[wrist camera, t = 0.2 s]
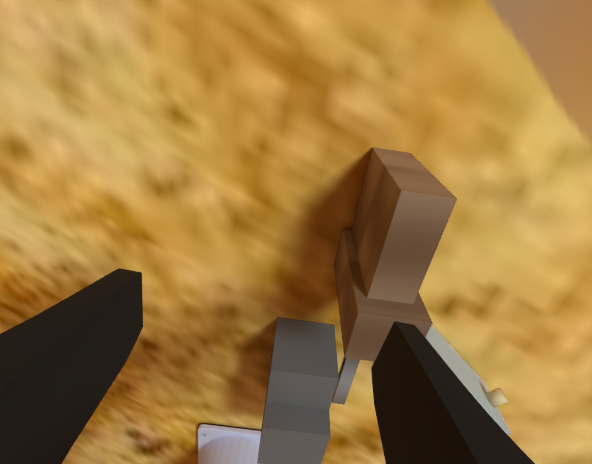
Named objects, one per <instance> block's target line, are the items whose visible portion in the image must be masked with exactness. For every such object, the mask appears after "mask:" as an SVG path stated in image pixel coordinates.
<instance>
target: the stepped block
mask: <svg viewBox="0 0 592 464" xmlns="http://www.w3.org/2000/svg"><path fill="white" fill-rule="evenodd" d="M338 380H339V376H338V364H337V353H336V341H335V330H334V325H332V324H324V323H317V322H309V321H302V320H294V319H287V318H279V317H278V318H277V325H276V331H275V338H274V344H273V351H272V357H271V364H270V370H269V377H268V384H267V392H266V399H265V407H264V414H263V422H262V430H261V437H260V445H259V452H258V460H257V463H258V464H321V462H322V459H323V456H324V453H325V450H326V447H327V445H328V442H329V439H330V418H329V408H330V405H331V402H332V399H333V396H334V392H335V389H336V386H337V383H338Z"/></svg>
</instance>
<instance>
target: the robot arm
mask: <svg viewBox="0 0 592 464" xmlns="http://www.w3.org/2000/svg"><path fill="white" fill-rule="evenodd" d="M142 328H143V308H142V273H141V272H135V271H130V270H125V269H120V268H119V269H117V270H115V271H113V272H112V273H110V274H108V275H106V276H105V277H103V278H101V279H99V280H98V281H96V282H94V283H92V284H91V285H89V286H87V287H86V288H84V289H82V290H80V291H79V292H77V293H75V294H73V295H72V296H70V297H68V298H66V299H65V300H63V301H61V302H59V303H58V304H56V305H54V306H52V307H50V308H49V309H47V310H45V311H43V312H42V313H40V314H38V315H36V316H34V317H32V318H30V319H28V320H27V321H25V322H23V323H21V324H19V325H17V326H15V327H13V328H11V329H9V330H7V331H5V332H3V333H1V334H0V464H62V462H63V460H64V459H65V457H66V455H67V454H68V452H69V450H70V449H71V447H72V445H73V444H74V442H75V441H76V439H77V438H78V436H79V434H80V433H81V431H82V430H83V428H84V427H85V425H86V424H87V422H88V420H89V419H90V417H91V416H92V414H93V413H94V411H95V410H96V408H97V406H98V405H99V403H100V402H101V400H102V399H103V397H104V396H105V394H106V392H107V391H108V389H109V388H110V386H111V385H112V383H113V381H114V380H115V378H116V377H117V375H118V373H119V372H120V370H121V369H122V367H123V366H124V364H125V362H126V361H127V359H128V357H129V355H130V353H131V351H132V349H133V347H134V345H135V342H136V340H137V338H138V336H139V334H140V332H141V330H142ZM372 384H373V395H374V405H375V410H376V416H377V421H378V426H379V431H380V436H381V441H382V446H383V451H384V456H385V461H386V464H535V463H534V462H533V461H532V460H531V459H530V458H529V457H528V456H527V455H526V454H525V453H524V452H523V451H522V450H521V449H520V448H519V447H518V446H517V445H516V444H515V443H514V442H513V440H512V439H511V438H510V437H509V436H508V435H507V434H506V433H505V432H504V431H503V429H502V428H501V427H500V426H499V425H498V424H497V423H496V422H495V421H494V419H493V418H492V417H491V416H490V415H489V414H488V413H487V412H486V410H485V409H484V408H483V407H482V406H481V405H480V403H479V402H478V401H477V400H476V399H475V398H474V396H473V395H472V394H471V393H470V392H469V391H468V389H467V388H466V387H465V386H464V384H463V383H462V382H461V381H460V380H459V378H458V377H457V376H456V375H455V374H454V372H453V371H452V370H451V369H450V367H449V366H448V365H447V364H446V362H445V361H444V360H443V359H442V357H441V356H440V355H439V354H438V353H437V351H436V350H435V349H434V348H433V346H432V345H431V344H430V343H429V341H428V340H427V339H426V338H425V336H424V335H423V334H422V333H421V332H420V330H419V329H418V328H417V327H416V326H415V325H412V324H407V323H402V322H397V321H394V323H393V325H392V327H391V329H390V331H389V333H388V335H387V337H386V339H385V341H384V343H383V345H382V347H381V349H380V351H379V353H378V355H377V358H376V360H375V362H374V364H373V366H372ZM260 437H261V431H257V430H248V429H240V428H232V427H224V426H215V425H207V424H201V425H200V426H199V428H198V464H258V463H257V460H258V452H259V445H260Z"/></svg>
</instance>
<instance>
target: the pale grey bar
mask: <svg viewBox="0 0 592 464" xmlns="http://www.w3.org/2000/svg"><path fill="white" fill-rule="evenodd" d="M426 339H427V340H428V341H429V343H430V344H431V345H432V346H433V348H434V349H435V350H436V351H437V353H438V354H439V355H440V356H441V357H442V359H443V360H444V361H445V362H446V364H447V365H448V366H449V367H450V369H451V370H452V371H453V372H454V374H455V375H456V376H457V377H458V378H459V380H460V381H461V382H462V383H463V384H464V386H465V387H466V388H467V389H468V391H469V392H470V393H471V394H472V395H473V396H474V398H475V399H476V400H477V401H478V402H479V403H480V405H481V406H482V407H483V408H484V409H485V410H486V412H487V413H488V414H489V415H490V416H491V417H492V418H493V419H494V421H495V422H496V423H497V424H498V425H499V426H500V427H501V428H502V429H503V431H504V432H505V433H506V434H507V435H508V434H511V432H510V430H509V428H508V426H507V424H506V422H505V421H504V419H503V417H502V415H501V413H500V411H499V409H498V407H497V406H499V405H501V404H504V403H506V402H508V399H507V398H506V396H505V394H504V393H503V391H502V390H501V389H500V388H497V389H495V390H492V391H490V392H489V390H488V389H487V387H486V385H485V383H484V381H483V380H482V379H481V378H480V377H479V376H478V375H477V374H476V373H475V372H474V370H473V369H472V368H471V367H470V366H469V365H468V364H467V363H466V362H465V361H464V360H463V359H462V358H461V356H460V355H459V354H458V353H457V352H456V351H455V350H454V349H453V348H452V347H451V346H450V345H449V344H448V342H447V341H446V340H445V339H444V338H443V337H442V336H441V335H440V334H439V333H438V332H437V331H436V330H435V328H434V327H433V326H432V325H431V327H430V329H429V331H428V333H427V335H426Z"/></svg>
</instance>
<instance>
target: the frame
mask: <svg viewBox="0 0 592 464" xmlns="http://www.w3.org/2000/svg"><path fill="white" fill-rule="evenodd" d="M456 200H457V198H456V197H455V196H454V195H453V194H452V193H451V192H450V191H449V190H447V189H446V188H445V187H444V186H443V185H442V184H441V183H440V182H439V181H438V180H437V179H436V178H435V177H434V176H433V175H432V174H431V173H430V172H429V171H428V170H427V169H426V168H425V167H424V166H423V165H422V164H421V163H420V162H419V161H418V160H417V159H416V158H415V157H414V156H413V155H412V154H411V153H405V152H399V151H392V150H386V149H379V148H372V151H371V155H370V159H369V163H368V167H367V171H366V175H365V179H364V183H363V186H362V190H361V194H360V198H359V202H358V206H357V210H356V214H355V218H354V222H353V225H352V229H351V230H346V229H343V231H342V235H341V239H340V243H339V247H338V251H337V255H336V260H335V264H334V269H335V278H336V286H337V295H338V304H339V313H340V322H341V331H342V340H343V349H344V357H345V358H346V359H345V362H344V365H343V368H342V371H341V374H340V378H339V381H338V384H337V387H336V390H335V393H334V396H333V400H332V403H338V404H345V401H346V398H347V395H348V392H349V390H350V387H351V384H352V381H353V378H354V375H355V372H356V370H357V367H358V364H359V361H360V359H361V360H368V361H375V360H376V358H377V355H378V353H379V351H380V349H381V347H382V345H383V343H384V341H385V339H386V337H387V335H388V333H389V331H390V329H391V327H392V325H393V323H394V321H397V322H402V323H407V324H412V325H415V326H416V327H417V328H418V329H419V330H420V332H421V333H422V334H423V335H424V336H425V338H426V335H427V333H428V331H429V329H430V327H431V325H432V321H431V319H430V316H429V314H428V312H427V310H426V308H425V306H424V303H423V301H422V299H421V297H420V295H419V292H418V291H419V289H420V287H421V284H422V282H423V279H424V277H425V275H426V272H427V270H428V267H429V265H430V263H431V260H432V258H433V255H434V253H435V251H436V248H437V246H438V243H439V241H440V239H441V236H442V234H443V231H444V229H445V227H446V224H447V222H448V219H449V217H450V215H451V212H452V210H453V207H454V205H455V203H456Z"/></svg>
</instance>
